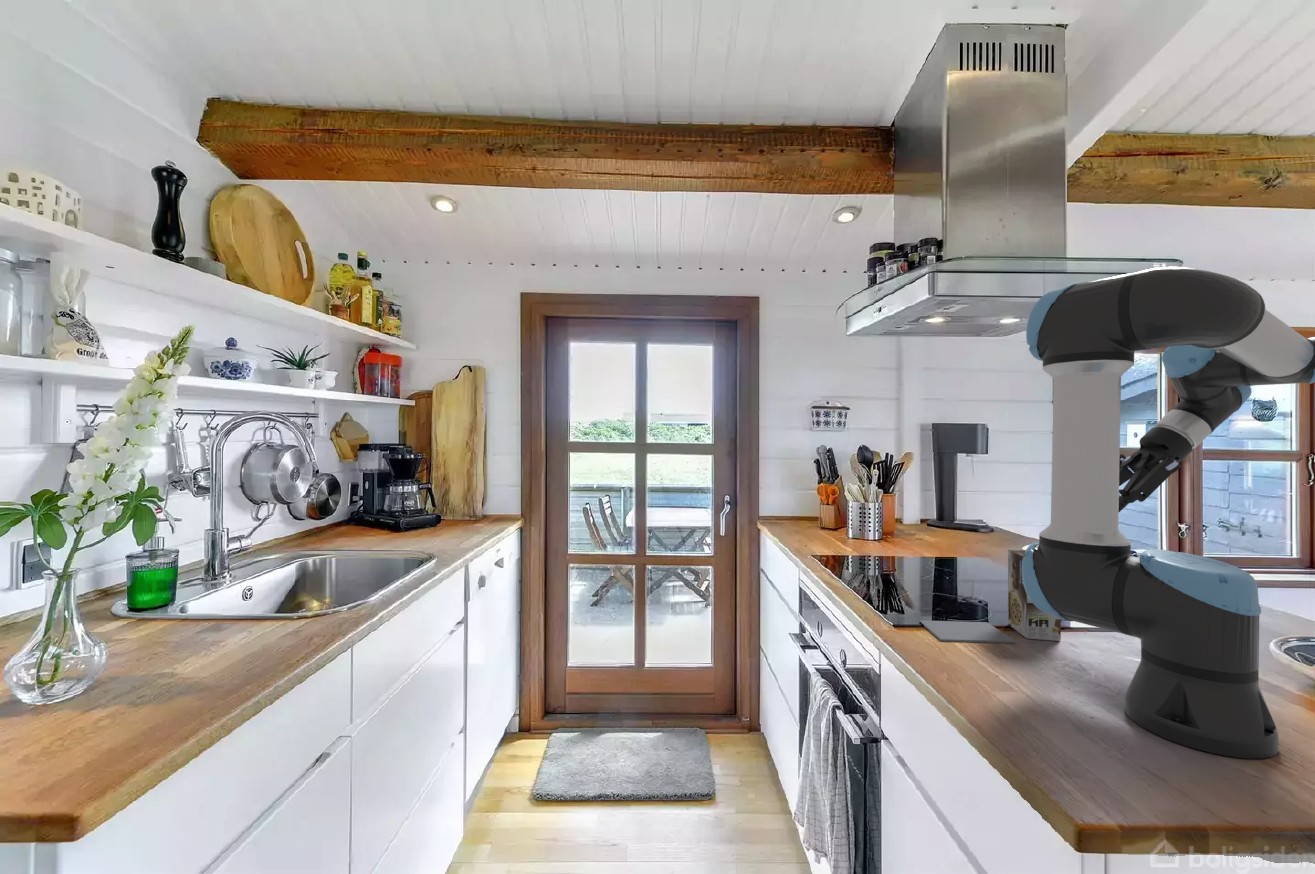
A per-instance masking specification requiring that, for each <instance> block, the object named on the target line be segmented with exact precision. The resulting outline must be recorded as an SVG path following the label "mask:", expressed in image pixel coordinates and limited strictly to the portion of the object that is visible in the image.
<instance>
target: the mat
mask: <svg viewBox="0 0 1315 874" xmlns="http://www.w3.org/2000/svg"><path fill="white" fill-rule="evenodd" d="M918 621H920V622H921V623H922V624H923V625H924V626H923V625H922V624H921V623H920V622H919V623H920V624H921V625H922V626H923V627H924V628H925V629H926V630H928V632H929V633H931V635H933V636H935V638H936V639H938V640H939V641H940V642H952V643H956V642H957V643H958V642H959V643H985V644H986V643H988V644H989V643H990V644H993V643H995V644H1017V641H1016V640H1014V639H1013V638H1012V637H1010V636H1009V635H1007V634H1006V633H1004V632H1003V631H1002V630H1000V629H998V628H996V627H995V625H994V626H993V625H992V624H991V623H989V622H987V621H984V622H983V621H958V620H957V621H955V620H953V621H952V620H951V621H950V620H918Z"/></svg>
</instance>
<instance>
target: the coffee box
mask: <svg viewBox="0 0 1315 874" xmlns="http://www.w3.org/2000/svg"><path fill="white" fill-rule="evenodd" d="M1025 551H1026V549H1025V550H1024V549H1020V550H1019V549H1018V550H1015V549H1011V550H1010V549H1008V550H1007V593H1008V594H1007V596H1008V598H1007V599H1008V601H1007V604H1008V605H1007V606H1008V607H1007V609H1008V625H1009V624H1010V625H1011V626H1010V625H1009V626H1010V627H1011V628H1013V629H1014V630H1015V631H1016V632H1017V633H1019V634H1020V635H1022V636H1023V637H1024V638H1026V639H1028V640H1041V641H1042V640H1043V641H1054V642H1060V641H1061V640H1062V639H1061V637H1062V635H1061V632H1062V629H1061V628H1062V627H1061V626H1062V625H1061V624H1062V623H1061V622H1062V621H1061V620H1062V618H1060V617H1058V616H1054V615H1051V614H1048V613H1045V612H1043V611H1041V610H1040V609H1038V608H1037V607H1036V606H1035V605H1034V604H1033V602H1032V601H1031V600H1030V599H1029V597H1028V595H1027V593H1026V591H1025V588H1024V585H1023V580H1022V560H1023V557H1026V555H1025Z"/></svg>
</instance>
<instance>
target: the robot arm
mask: <svg viewBox="0 0 1315 874" xmlns="http://www.w3.org/2000/svg"><path fill="white" fill-rule="evenodd" d="M1025 333H1026V334H1025V336H1026V337H1025V338H1026V344H1027V345H1028V346H1029V347H1028V351H1029V352H1030V355H1032V357H1033V358H1034V359H1036V360H1039V361H1042V371H1044V372H1045V373H1046V374H1047V375H1049V376H1050V377H1051V378H1052V380H1053V385H1052V386H1053V392H1052V394H1053V395H1052V398H1053V399H1052V435H1051V438H1052V439H1051V440H1052V443H1051V445H1052V446H1051V453H1052V454H1051V485H1050V486H1051V488H1050V489H1051V490H1050V491H1051V493H1050V497H1051V498H1050V499H1051V501H1050V523H1049V524H1048V526H1047V527H1045V528H1044V529H1043V530H1042V531H1040V532H1039V537H1038V538H1039V539H1038V540H1039V541H1035V542H1032V543H1031V544H1030V545H1028V547H1027V548H1026V549H1025V550H1026V551H1025V555H1026V557H1023V560H1022V580H1023V585H1024V588H1025V591H1026V593H1027V595H1028V597H1029V599H1030V600H1031V601H1032V602H1033V604H1034V605H1035V606H1036V607H1037V608H1038V609H1040V610H1041V611H1043V612H1045V613H1048V614H1051V615H1054V616H1058V617H1060V618H1061V620H1062V619H1063V620H1065V621H1068V622H1076V623H1079V624H1083V625H1087V626H1090V627H1091V626H1092V627H1095V628H1099V629H1103V630H1108V631H1111V632H1114V633H1117V634H1118V633H1119V634H1122V635H1125V636H1130V637H1132V638H1133V637H1134V638H1138V639H1140V662H1139V664H1138V666H1137V668H1136V670H1135V672H1134V675H1133V676H1132V679H1131V681H1130V683H1129V685H1128V687H1127V689H1126V692H1125V695H1124V711H1125V713H1126V715H1127V717H1128V718H1129V719H1130V720H1132V721H1133V722H1134V723H1135V724H1137V725H1138V726H1140V727H1141V728H1142V729H1145V730H1146V731H1148V732H1150V733H1153V734H1155V735H1157V736H1159V737H1161V738H1164V739H1167V740H1168V741H1172V742H1175V743H1176V744H1180V745H1183V746H1185V747H1188V748H1193V749H1196V750H1199V751H1203V752H1205V753H1206V752H1207V753H1211V754H1216V755H1219V756H1227V757H1233V758H1241V759H1254V760H1255V759H1267V758H1272V757H1274V756H1276V755H1277V754H1278V753H1279V737H1280V736H1279V731H1278V728H1277V726H1276V723H1275V722H1274V721H1275V720H1274V718H1273V717H1272V714H1271V712H1270V709H1269V706H1268V704H1267V702H1266V699H1265V697H1264V695H1263V693H1262V690H1261V688H1260V683H1259V676H1260V675H1259V674H1260V673H1259V669H1260V668H1259V667H1260V665H1259V664H1260V615H1261V614H1262V608H1261V606H1260V601H1259V588H1258V587H1259V586H1258V583H1257V581H1256V579H1255V578H1254V577H1253V576H1252V575H1251V574H1250V573H1249V572H1248V571H1245V570H1244V569H1242V568H1240V567H1238V566H1236V565H1234V564H1231V563H1227V562H1225V561H1221V560H1217V559H1214V558H1211V557H1206V556H1202V555H1197V554H1193V553H1187V552H1183V551H1180V552H1179V551H1173V550H1168V549H1147V550H1144V551H1143V552H1142V553H1141V555H1140V557H1138V556H1132V555H1131V554H1132V553H1131V552H1132V550H1131V547H1132V546H1131V545H1132V541H1130V540H1129V539H1128V538H1127V537H1126V536H1125V535H1124V534H1123V533H1122V532H1121V531H1120V530H1119V514H1120V513H1121V511H1122V510H1123V509H1125V508H1126V507H1127V506H1128V505H1129V504H1133V503H1135V502H1137V501H1138V502H1139V503H1143V502H1145V501H1146V500H1147V499H1148V498H1149V497H1150V496H1151V495H1152V494H1153V493H1154V492H1155V491H1156V490H1157V489H1158V488H1159V487H1160V486H1161V485H1162V484H1163V483H1164V482H1165V481H1166V480H1167V479H1168V478H1169V477H1170V476H1171V475H1173V474H1174V473H1176V472H1177V471H1179V470H1180V469H1181V468H1182V465H1181V464H1180V463H1181V462H1182V461H1183V460H1185V458H1186V457H1188V456H1189V455H1190V454H1191V453H1192V452H1193V449H1196V448H1197V447H1198V446H1199V445H1201V444H1202V443H1203V441H1204V440H1206V439H1207V437H1209V436H1210V435H1211V434H1212V433H1213V432H1215V430H1216V429H1218V427H1220V426H1221V425H1222V424H1223V423H1224V422H1225V421H1226V420H1227V419H1228V418H1230V416H1232V415H1233V414H1234V413H1235V412H1238V411H1239V410H1240V408H1241V407H1242V406H1243V405H1244V404H1245V402H1247V400H1248V399H1249V398H1250V397H1251V395H1252V392H1253V391H1252V388H1251V387H1253V386H1266V385H1267V386H1268V385H1269V386H1273V385H1287V384H1293V385H1294V384H1310V385H1311V384H1314V383H1315V336H1312V337H1309V338H1308V337H1305V336H1303V335H1302V334H1300V333H1299V332H1297V330H1295V329H1293V328H1292V327H1291V326H1290V325H1288V324H1287V323H1285V322H1284V321H1282V320H1281V319H1279V317H1277V316H1276V315H1274V314H1273V313H1272V312H1271V311H1269V310H1267V309H1266V303H1265V300H1264V298H1263V297H1262V295H1261V294H1260V293H1259V292H1258V291H1257V290H1256V289H1254V288H1253V287H1252V286H1251V285H1249V284H1247V283H1245V282H1243V281H1241V280H1239V279H1237V278H1234V277H1231V276H1229V275H1225V274H1221V273H1217V272H1214V271H1211V270H1210V271H1209V270H1205V269H1198V268H1191V267H1184V266H1183V267H1182V266H1181V267H1180V266H1168V267H1167V266H1165V267H1154V268H1150V269H1145V270H1140V271H1137V272H1131V273H1125V274H1120V275H1115V276H1111V277H1105V278H1101V279H1095V280H1090V281H1085V282H1078V283H1073V284H1069V285H1068V286H1064V287H1060V288H1058V289H1053V290H1051V291H1048V292H1047V293H1045V294H1043V295H1042V296H1040V298H1039V299H1038V301H1037V302H1035V303H1034V305H1033V307H1032V309H1031V311H1030V313H1029V316H1028V319H1027V323H1026V331H1025ZM1160 348H1161V349H1162V348H1165V350H1164V351H1163V353H1162V354H1161V355H1162V356H1161V362H1162V364H1163V367H1164V369H1165V374H1166V375H1167V377H1168V378H1169V380H1170V381H1171V384H1172V386H1173V387H1174V389H1175V392H1176V393H1177V395H1178V398H1179V399H1180V401H1179V402H1178V403H1177V404H1176V405H1175V406H1174V407H1173V408H1172V409H1171V410H1170V411H1168V412H1167V413H1166V414H1165V415H1164V416H1163V417H1161V419H1160V420H1158V422H1157V423H1156V424H1154V427H1151V428H1150V429H1149V430H1148V431H1147V432H1146V433H1145V434H1144V435H1143V436H1142V437H1141V438H1139V446H1140V447H1139V449H1138V450H1137V451H1135V452H1134V453H1132V454H1131V455H1129V456H1125V455H1124V454H1123V453H1121V450H1120V449H1121V403H1122V402H1121V400H1122V399H1121V398H1122V397H1121V396H1122V395H1121V393H1122V376H1123V375H1124V374H1126V372H1127V371H1129V370H1130V369H1131V368H1132V367H1133V366H1134V365H1135V352H1137V351H1145V350H1146V351H1147V350H1152V349H1160ZM1120 453H1121V454H1120ZM1126 482H1127V483H1126ZM1125 483H1126V484H1125ZM1124 484H1125V486H1123V488H1121V489H1120V487H1121V486H1122V485H1124Z"/></svg>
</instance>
